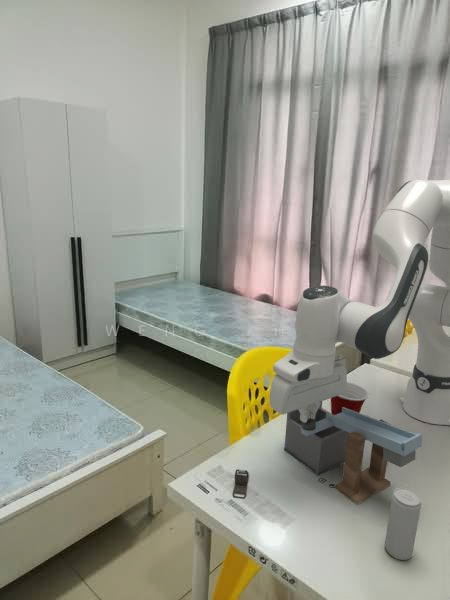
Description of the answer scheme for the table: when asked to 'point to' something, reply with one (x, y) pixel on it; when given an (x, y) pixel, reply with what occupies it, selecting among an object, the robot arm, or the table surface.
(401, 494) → the beverage can
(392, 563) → the table surface
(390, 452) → the lever
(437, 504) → the table surface
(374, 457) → the stand
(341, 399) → the plastic cup
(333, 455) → the bin
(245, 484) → the grey hinged case
